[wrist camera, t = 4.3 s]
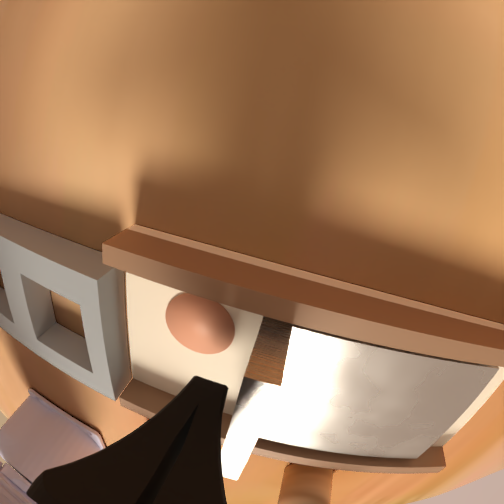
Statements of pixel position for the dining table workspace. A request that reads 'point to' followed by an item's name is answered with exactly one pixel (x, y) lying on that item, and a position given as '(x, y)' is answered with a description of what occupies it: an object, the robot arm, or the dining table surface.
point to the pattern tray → (248, 324)
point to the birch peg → (306, 485)
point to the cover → (345, 396)
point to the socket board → (73, 288)
